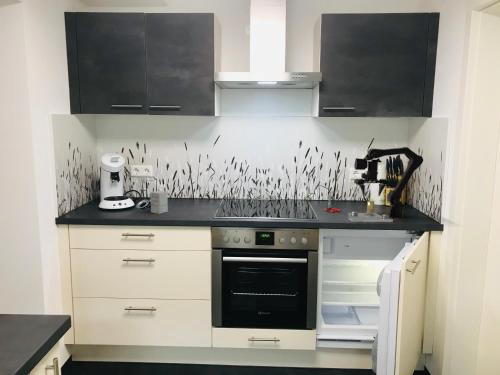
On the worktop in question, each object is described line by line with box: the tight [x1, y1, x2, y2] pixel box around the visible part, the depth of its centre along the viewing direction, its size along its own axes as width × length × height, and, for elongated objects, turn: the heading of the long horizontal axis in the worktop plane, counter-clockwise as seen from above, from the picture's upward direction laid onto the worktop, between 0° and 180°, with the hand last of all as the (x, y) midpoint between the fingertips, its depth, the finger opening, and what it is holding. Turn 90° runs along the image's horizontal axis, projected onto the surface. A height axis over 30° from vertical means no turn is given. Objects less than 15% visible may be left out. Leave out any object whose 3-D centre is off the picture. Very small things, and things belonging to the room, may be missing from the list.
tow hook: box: [324, 190, 341, 213], centre depth 255 cm, size 8×13×9 cm
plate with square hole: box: [347, 211, 394, 223], centre depth 232 cm, size 23×10×4 cm, turn 92°
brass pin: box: [366, 200, 375, 213], centre depth 241 cm, size 4×4×9 cm
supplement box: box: [150, 190, 169, 215], centre depth 246 cm, size 7×7×13 cm
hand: (371, 196), depth 240 cm, fingers open, 9 cm apart
